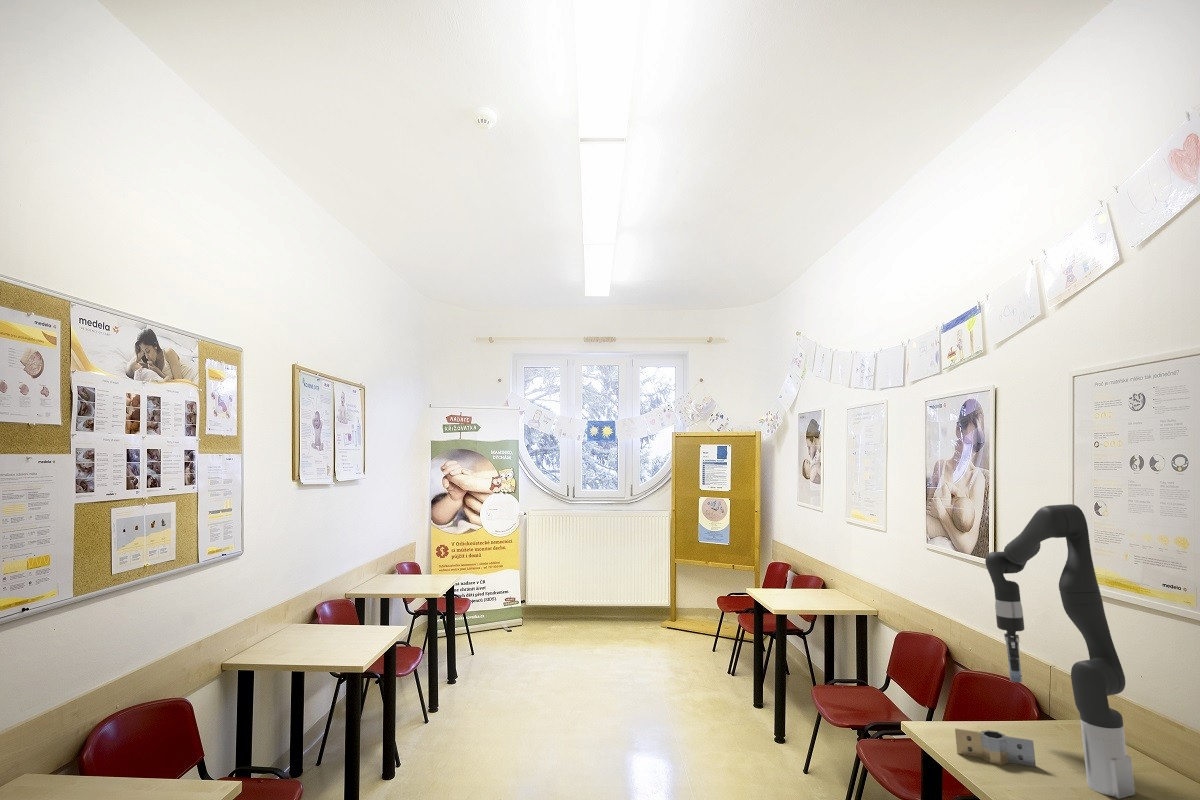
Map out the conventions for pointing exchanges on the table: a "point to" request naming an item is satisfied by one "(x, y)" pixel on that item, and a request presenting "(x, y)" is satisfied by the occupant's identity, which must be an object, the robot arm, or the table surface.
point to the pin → (1014, 675)
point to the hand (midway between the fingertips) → (1014, 668)
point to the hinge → (995, 747)
